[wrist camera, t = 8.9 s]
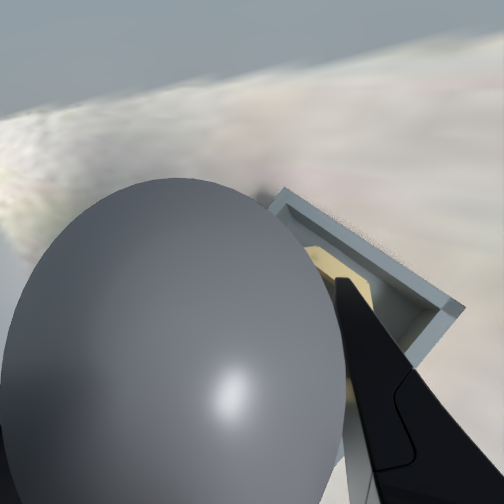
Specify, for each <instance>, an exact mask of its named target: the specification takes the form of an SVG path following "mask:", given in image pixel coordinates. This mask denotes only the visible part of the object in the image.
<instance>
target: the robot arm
mask: <svg viewBox="0 0 504 504" xmlns="http://www.w3.org/2000/svg"><path fill="white" fill-rule="evenodd" d="M334 311H335V314H336V318H337V321H338V325H339V329H340V332H341V338H342V345H343V352H344V359H345V367H346V404H345V413H344V422H343V431H342V437H343V446H344V455H345V464H346V473H347V483H348V492H349V501H350V504H504V476H503V475H502V474H501V473H500V471H499V470H498V469H497V468H496V467H495V466H494V465H493V464H492V462H491V461H490V460H489V459H488V458H487V457H486V456H485V454H484V453H483V452H482V451H481V450H480V449H479V448H478V446H477V445H476V444H475V443H474V442H473V441H472V440H471V438H470V437H469V436H468V435H467V434H466V433H465V432H464V430H463V429H462V428H461V427H460V426H459V424H458V423H457V422H456V421H455V420H454V419H453V417H452V416H451V415H450V414H449V413H448V411H447V410H446V409H445V408H444V407H443V405H442V404H441V403H440V401H439V400H438V399H437V398H436V396H435V395H434V394H433V392H432V391H431V390H430V388H429V387H428V386H427V384H426V383H425V382H424V380H423V379H422V377H421V376H420V375H419V373H418V372H417V370H415V369H413V368H414V367H413V365H412V364H411V362H410V361H409V360H408V358H407V357H406V355H405V354H404V353H403V351H402V350H401V349H400V347H399V346H398V344H397V343H396V342H395V340H394V339H393V337H392V336H391V335H390V333H389V332H388V330H387V329H386V328H385V326H384V325H383V324H382V322H381V321H380V319H379V318H378V317H377V315H376V314H375V312H374V311H373V310H372V308H371V307H370V306H369V304H368V303H367V301H366V300H365V299H364V297H363V296H362V294H361V293H360V292H359V290H358V289H357V287H356V286H355V285H354V283H353V282H352V281H351V279H350V278H348V277H336V278H335V282H334ZM0 504H23V503H22V501H21V499H20V497H19V495H18V492H17V489H16V486H15V484H14V481H13V478H12V475H11V472H10V469H9V464H8V460H7V456H6V452H5V448H4V441H3V434H2V427H1V413H0Z"/></svg>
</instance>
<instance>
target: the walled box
mask: <svg viewBox="0 0 504 504" xmlns="http://www.w3.org/2000/svg"><path fill="white" fill-rule="evenodd" d="M267 210H268V211H270V212H271V213H272V214H273V215H275V216H276V217H277V218H278V219H279V220H280V221H281V222H282V223H283V224H284V225H285V226H286V227H287V228H288V229H289V230H290V231H291V232H292V233H293V235H294V236H295V237H296V239H297V240H298V241H299V242H300V244H301V245H302V246H303V247H304V249H305V250H306V251H307V253H308V255H309V256H310V258H311V260H312V261H313V263H314V265H315V267H316V268H317V270H318V272H319V273H320V275H321V277H322V280H323V282H324V284H325V287H326V289H327V291H328V294H329V296H330V298H331V301H332V303H333V307H334V282H335V278H336V277H348V278H350V279H351V281H352V282H353V283H354V285H355V286H356V287H357V289H358V290H359V292H360V293H361V294H362V296H363V297H364V299H365V300H366V301H367V303H368V304H369V306H370V307H371V308H372V310H373V311H374V312H375V314H376V315H377V317H378V318H379V319H380V321H381V322H382V324H383V325H384V326H385V328H386V329H387V330H388V332H389V333H390V335H391V336H392V337H393V339H394V340H395V342H396V343H397V344H398V346H399V347H400V349H401V350H402V351H403V353H404V354H405V355H406V357H407V358H408V360H409V361H410V362H411V364H412V365H413V367H414V368H413V369H416V368H417V366H418V365H419V364H420V363H421V362H422V360H423V359H424V358H425V357H426V355H427V354H428V353H429V352H430V351H431V349H432V348H433V347H434V346H435V345H436V343H437V342H438V341H439V340H440V339H441V337H442V336H443V335H444V334H445V332H446V331H447V330H448V329H449V328H450V326H451V325H452V324H453V323H454V322H455V320H456V319H457V318H458V317H459V316H460V314H461V313H462V312H463V311H464V309H465V308H466V307H465V306H464V305H462V304H461V303H459V302H457V301H456V300H454V299H453V298H451V297H450V296H448V295H447V294H445V293H444V292H442V291H441V290H439V289H438V288H436V287H435V286H433V285H432V284H430V283H429V282H427V281H426V280H424V279H423V278H421V277H420V276H418V275H417V274H415V273H414V272H412V271H411V270H409V269H408V268H406V267H405V266H403V265H402V264H400V263H399V262H397V261H396V260H394V259H393V258H391V257H390V256H388V255H387V254H385V253H384V252H382V251H381V250H379V249H378V248H376V247H374V246H373V245H371V244H370V243H368V242H367V241H365V240H364V239H362V238H361V237H359V236H358V235H356V234H355V233H353V232H352V231H350V230H349V229H347V228H346V227H344V226H343V225H341V224H340V223H338V222H337V221H335V220H334V219H332V218H331V217H329V216H328V215H326V214H325V213H323V212H322V211H320V210H319V209H317V208H316V207H314V206H313V205H311V204H310V203H308V202H307V201H305V200H304V199H302V198H301V197H299V196H298V195H296V194H295V193H293V192H291V191H290V190H288V189H287V188H285V187H284V188H283V189H282V191H281V192H280V193H279V194H278V196H277V197H276V198H275V200H274V201H273V202H272V203H271V205H270V206H269V207H268V208H267ZM343 456H344V446H343V437H341V441H340V445H339V449H338V453H337V456H336V460H335V464H334V467H335V466H336V464H337V463H338V462H339V461H340V460H341V458H342V457H343Z"/></svg>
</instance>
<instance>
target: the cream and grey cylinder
mask: <svg viewBox="0 0 504 504" xmlns="http://www.w3.org/2000/svg"><path fill="white" fill-rule="evenodd" d="M345 404H346V367H345V359H344V352H343V345H342V338H341V332H340V329H339V325H338V321H337V318H336V314H335V311H334V307H333V303H332V301H331V298H330V296H329V294H328V291H327V289H326V287H325V284H324V282H323V280H322V277H321V275H320V273H319V272H318V270H317V268H316V267H315V265H314V263H313V261H312V260H311V258H310V256H309V255H308V253H307V251H306V250H305V249H304V247H303V246H302V245H301V244H300V242H299V241H298V240H297V239H296V237H295V236H294V235H293V233H292V232H291V231H290V230H289V229H288V228H287V227H286V226H285V225H284V224H283V223H282V222H281V221H280V220H279V219H278V218H277V217H276V216H275V215H273V214H272V213H271V212H270V211H268V210H267V209H266V208H264V207H263V206H261V205H260V204H259V203H257V202H256V201H254V200H253V199H251V198H249V197H247V196H245V195H243V194H241V193H239V192H238V191H236V190H234V189H231V188H228V187H225V186H222V185H219V184H216V183H213V182H208V181H203V180H197V179H187V178H168V179H158V180H152V181H147V182H143V183H139V184H135V185H132V186H130V187H127V188H124V189H122V190H119V191H117V192H115V193H113V194H111V195H109V196H107V197H105V198H104V199H102V200H100V201H99V202H97V203H96V204H94V205H93V206H91V207H90V208H88V209H87V210H85V211H84V212H83V213H82V214H81V215H79V216H78V217H77V218H76V219H75V220H74V221H72V222H71V223H70V224H69V225H68V226H67V227H66V228H65V229H64V230H63V231H62V232H61V234H60V235H59V236H58V237H57V238H56V239H55V240H54V242H53V243H52V244H51V245H50V247H49V248H48V249H47V251H46V252H45V253H44V255H43V256H42V258H41V259H40V261H39V262H38V264H37V266H36V267H35V269H34V270H33V272H32V274H31V276H30V278H29V280H28V282H27V284H26V286H25V287H24V289H23V292H22V294H21V297H20V299H19V301H18V304H17V306H16V309H15V312H14V315H13V318H12V321H11V325H10V328H9V332H8V336H7V340H6V345H5V350H4V356H3V363H2V371H1V384H0V413H1V427H2V434H3V441H4V448H5V452H6V456H7V460H8V464H9V469H10V472H11V475H12V478H13V481H14V484H15V486H16V489H17V492H18V495H19V497H20V499H21V501H22V503H23V504H319V502H320V501H321V498H322V496H323V493H324V491H325V488H326V486H327V483H328V481H329V478H330V476H331V473H332V471H333V468H334V464H335V460H336V456H337V453H338V449H339V445H340V441H341V437H342V431H343V422H344V413H345Z"/></svg>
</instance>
